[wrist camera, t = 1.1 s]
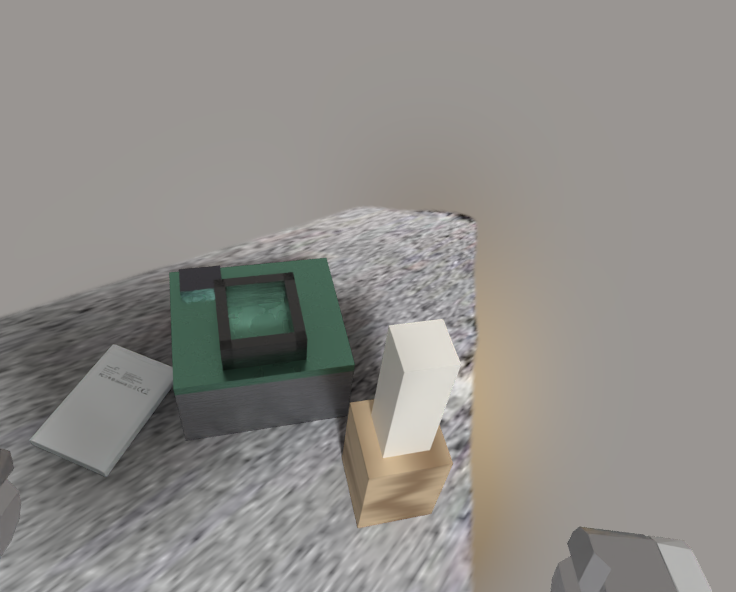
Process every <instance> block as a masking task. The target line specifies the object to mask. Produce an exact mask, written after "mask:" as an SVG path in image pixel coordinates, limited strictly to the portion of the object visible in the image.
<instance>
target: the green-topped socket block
mask: <svg viewBox="0 0 736 592" xmlns="http://www.w3.org/2000/svg"><path fill="white" fill-rule="evenodd" d="M169 277H170V306H171V335H172V363H173V390H174V394H175V398H176V402H177V406H178V410H179V414H180V419H181V423H182V427H183V431H184V435H185V439H186V441H187V440H194V439H200V438H206V437H213V436H219V435H226V434H232V433H239V432H245V431H252V430H258V429H265V428H271V427H278V426H284V425H291V424H297V423H304V422H310V421H317V420H323V419H330V418H336V417H343V416H347V415H348V408H349V401H350V394H351V387H352V380H353V374H354V367H355V363H354V360H353V356H352V352H351V349H350V345H349V341H348V337H347V334H346V330H345V326H344V322H343V319H342V315H341V311H340V307H339V304H338V300H337V296H336V292H335V289H334V285H333V281H332V277H331V274H330V270H329V266H328V262H327V259H326V258H320V259H309V260H298V261H288V262H277V263H266V264H256V265H245V266H234V267H224V268H220V266H212V267H201V268H191V269H180V270H179V272H170V273H169Z"/></svg>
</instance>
